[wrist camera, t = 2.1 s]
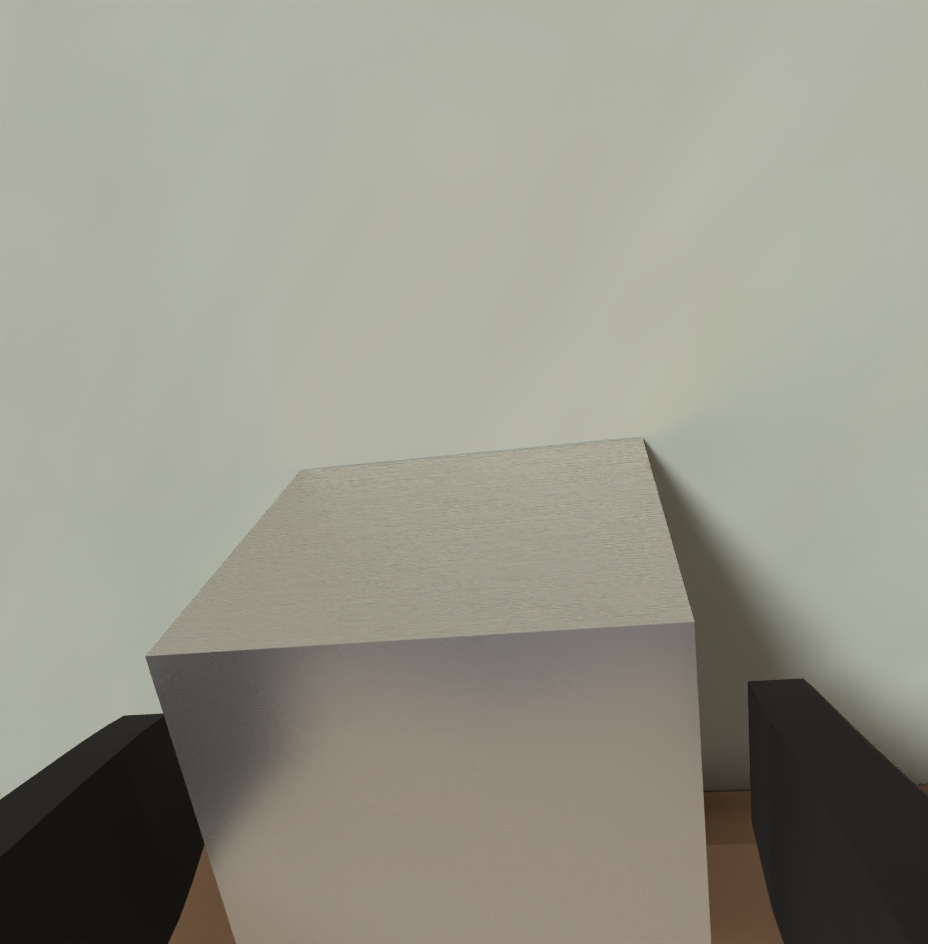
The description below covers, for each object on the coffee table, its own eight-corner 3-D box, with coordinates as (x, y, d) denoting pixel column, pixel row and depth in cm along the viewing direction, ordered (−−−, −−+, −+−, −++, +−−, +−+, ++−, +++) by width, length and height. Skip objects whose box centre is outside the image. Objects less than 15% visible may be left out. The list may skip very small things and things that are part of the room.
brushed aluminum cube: (642, 437, 12) (694, 621, 8) (662, 732, 14) (716, 1036, 9) (300, 470, 13) (144, 655, 8) (360, 746, 15) (264, 1031, 10)
